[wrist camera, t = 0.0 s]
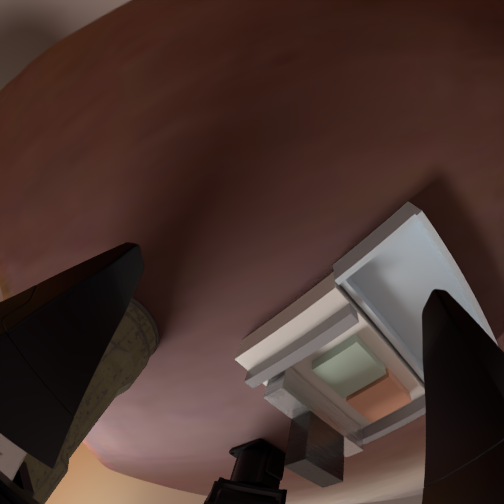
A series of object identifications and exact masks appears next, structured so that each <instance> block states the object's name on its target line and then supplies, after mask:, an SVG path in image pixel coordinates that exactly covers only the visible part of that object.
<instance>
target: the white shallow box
mask: <svg viewBox="0 0 504 504" xmlns="http://www.w3.org/2000/svg"><path fill="white" fill-rule="evenodd" d="M355 333H356V334H357V335H358V336H359V337H360V338H361V339H362V340H363V342H364V343H365V344H366V345H367V346H368V347H369V348H370V349H371V350H372V351H373V352H374V354H375V355H376V356H377V357H378V358H379V359H380V360H381V361H382V362H383V363H384V364H385V369H386V368H388V369H389V370H390V371H391V372H392V373H393V374H394V375H395V377H396V378H397V379H398V380H399V381H400V382H401V383H402V384H403V385H404V387H405V388H406V389H407V390H408V391H409V392H410V396H411V400H412V401H411V402H409V403H408V404H406V405H404V406H402V407H401V408H399V409H397V410H395V411H393V412H392V413H390V414H388V415H386V416H384V417H382V418H380V419H378V420H376V421H374V422H372V423H371V422H370V421H369V420H367V419H366V418H365V417H364V416H363V415H362V414H360V413H359V412H358V411H357V410H356V409H355V408H353V407H352V406H351V405H350V404H349V403H348V402H346V397H345V398H342V397H341V396H340V395H338V394H337V393H336V392H335V391H334V390H333V389H332V388H331V387H329V386H328V385H327V384H326V383H325V382H324V381H323V380H322V379H320V378H319V377H318V376H317V375H316V374H315V373H314V372H313V371H312V361H313V360H315V359H317V358H318V357H320V356H321V355H323V354H325V353H326V352H328V351H329V350H331V349H332V348H334V347H336V346H337V345H339V344H340V343H342V342H343V341H345V340H346V339H348V338H349V337H351V336H352V335H354V334H355ZM235 360H236V361H237V362H238V363H240V364H241V365H242V366H243V367H244V368H245V369H247V370H248V372H247V375H246V378H245V381H244V382H245V383H246V384H248V385H249V386H250V387H251V388H254V387H256V386H258V385H260V384H261V383H263V384H264V385H266V386H267V383H268V380H269V379H270V378H272V377H274V376H276V375H277V374H279V373H281V372H282V371H284V370H286V369H288V368H289V367H291V368H292V369H293V370H294V371H296V372H297V373H298V374H299V375H300V376H301V377H302V378H303V379H305V380H306V381H307V382H308V383H309V384H310V385H312V386H313V387H314V388H315V389H316V390H317V391H319V392H320V393H321V394H322V395H323V396H324V397H326V398H327V399H328V400H329V401H330V402H332V403H333V404H334V405H335V406H336V407H337V408H339V409H340V410H341V411H342V412H344V413H345V414H346V415H347V416H348V417H350V418H351V419H352V420H353V421H355V422H356V423H357V424H358V425H359V426H361V427H362V428H363V445H364V444H366V443H369V442H371V441H373V440H375V439H377V438H379V437H382V436H384V435H386V434H388V433H390V432H392V431H394V430H396V429H398V428H400V427H401V426H403V425H405V424H407V423H409V422H411V421H413V420H414V419H416V418H418V417H420V416H421V415H423V414H425V413H426V407H425V387H424V382H423V381H422V379H421V378H420V377H419V376H418V374H417V373H416V372H415V371H414V370H413V368H412V367H411V366H410V365H409V364H408V362H407V361H406V360H405V359H404V357H403V356H402V355H401V354H400V353H399V352H398V350H397V349H396V348H395V347H394V346H393V344H392V343H391V342H390V341H389V340H388V338H387V337H386V336H385V335H384V334H383V333H382V331H381V330H380V329H379V328H378V327H377V326H376V324H375V323H374V322H373V321H372V320H371V319H370V317H369V316H368V315H367V314H366V313H365V312H364V311H363V309H362V308H361V307H360V306H359V305H358V304H357V303H356V301H355V300H354V299H353V298H352V297H351V296H350V295H349V294H348V292H347V291H346V290H345V289H344V288H343V287H342V286H341V285H340V284H339V285H338V284H337V283H336V282H335V280H334V272H332V273H331V274H330V275H329V276H327V277H326V278H325V279H323V280H322V281H321V282H320V283H318V284H317V285H316V286H314V287H313V288H312V289H311V290H309V291H308V292H307V293H305V294H304V295H303V296H301V297H300V298H299V299H297V300H296V301H295V302H294V303H292V304H291V305H290V306H288V307H287V308H286V309H284V310H283V311H281V312H280V313H279V314H277V315H276V316H275V317H273V318H272V319H271V320H269V321H268V322H266V323H265V324H264V325H262V326H261V327H260V328H258V329H257V330H255V331H254V332H253V333H251V334H250V335H248V336H247V337H246V338H244V339H243V340H242V342H241V344H240V347H239V349H238V352H237V354H236V357H235Z"/></svg>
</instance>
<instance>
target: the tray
mask: <svg viewBox="0 0 504 504" xmlns="http://www.w3.org/2000/svg"><path fill="white" fill-rule="evenodd" d="M333 271H334V280H335V282H336V283H337V284H338V285H339V284H340V285H341V286H342V287H343V288H344V289H345V290H346V291H347V292H348V294H349V295H350V296H351V297H352V298H353V299H354V300H355V301H356V303H357V304H358V305H359V306H360V307H361V308H362V309H363V311H364V312H365V313H366V314H367V315H368V316H369V317H370V319H371V320H372V321H373V322H374V323H375V324H376V326H377V327H378V328H379V329H380V330H381V331H382V333H383V334H384V335H385V336H386V337H387V338H388V340H389V341H390V342H391V343H392V344H393V346H394V347H395V348H396V349H397V350H398V352H399V353H400V354H401V355H402V356H403V357H404V359H405V360H406V361H407V362H408V364H409V365H410V366H411V367H412V368H413V370H414V371H415V372H416V373H417V374H418V376H419V377H420V378H421V379H422V381H423V382H424V373H423V360H422V311H423V308H424V306H425V304H426V302H427V300H428V298H429V296H430V294H431V292H432V291H433V290H434V289H441V290H446V291H447V292H448V293H449V294H450V295H451V296H452V297H453V298H454V299H455V300H456V301H457V302H458V303H459V304H460V305H461V306H462V307H463V308H464V309H465V310H466V311H467V312H468V313H469V314H470V315H471V317H472V318H473V319H474V320H475V321H476V322H477V323H478V324H479V325H480V326H481V327H482V328H483V329H484V331H485V332H486V333H487V334H488V335H489V336H490V337H491V338H492V340H493V341H494V342H495V343H496V344H497V342H496V339H495V337H494V335H493V333H492V330H491V328H490V326H489V324H488V322H487V320H486V318H485V316H484V314H483V312H482V310H481V308H480V306H479V304H478V302H477V300H476V298H475V296H474V294H473V292H472V290H471V288H470V287H469V285H468V283H467V281H466V279H465V278H464V276H463V274H462V272H461V271H460V269H459V267H458V265H457V264H456V262H455V260H454V259H453V257H452V255H451V254H450V252H449V251H448V249H447V247H446V246H445V244H444V243H443V241H442V240H441V238H440V236H439V235H438V233H437V232H436V230H435V229H434V227H433V226H432V224H431V223H430V221H429V220H428V219H427V217H426V216H425V214H424V213H423V211H422V210H420V209H419V208H417V207H416V206H414V205H413V204H411V203H410V202H406V203H405V204H404V205H403V206H402V207H401V208H400V209H399V210H397V211H396V212H395V213H394V214H393V215H392V216H391V217H389V218H388V219H387V220H386V221H385V222H384V223H382V224H381V225H380V226H379V227H378V228H377V229H375V230H374V231H373V232H372V233H371V234H370V235H368V236H367V237H366V238H365V239H364V240H362V241H361V242H360V243H359V244H358V245H356V246H355V247H354V248H353V249H352V250H350V251H349V252H348V253H347V254H345V255H344V256H343V257H342V258H341V259H339V260H338V261H337V262H336V263H334V264H333ZM497 345H498V344H497Z"/></svg>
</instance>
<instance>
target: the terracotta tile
mask: <svg viewBox="0 0 504 504" xmlns="http://www.w3.org/2000/svg"><path fill="white" fill-rule="evenodd" d="M411 401H412V400H411V396H410V392H409V391H408V390H407V389H406V388H405V387H404V385H403V384H402V383H401V382H400V381H399V380H398V379H397V378H396V377H395V375H394V374H393V373H392V372H391V371H390V370H389V369H388V368H386V374H385V375H383V376H382V377H380V378H378V379H377V380H375V381H373V382H372V383H370V384H368V385H366V386H365V387H363V388H361V389H359V390H358V391H356V392H354V393H352V394H350V395H349V396H347V397H346V402H348V403H349V404H350V405H351V406H352V407H353V408H355V409H356V410H357V411H358V412H359V413H360V414H362V415H363V416H364V417H365V418H366V419H367V420H369V421H370V422H371V423H372V422H374V421H376V420H378V419H380V418H382V417H384V416H386V415H388V414H390V413H392V412H393V411H395V410H397V409H399V408H401V407H402V406H404V405H406V404H408V403H409V402H411Z"/></svg>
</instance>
